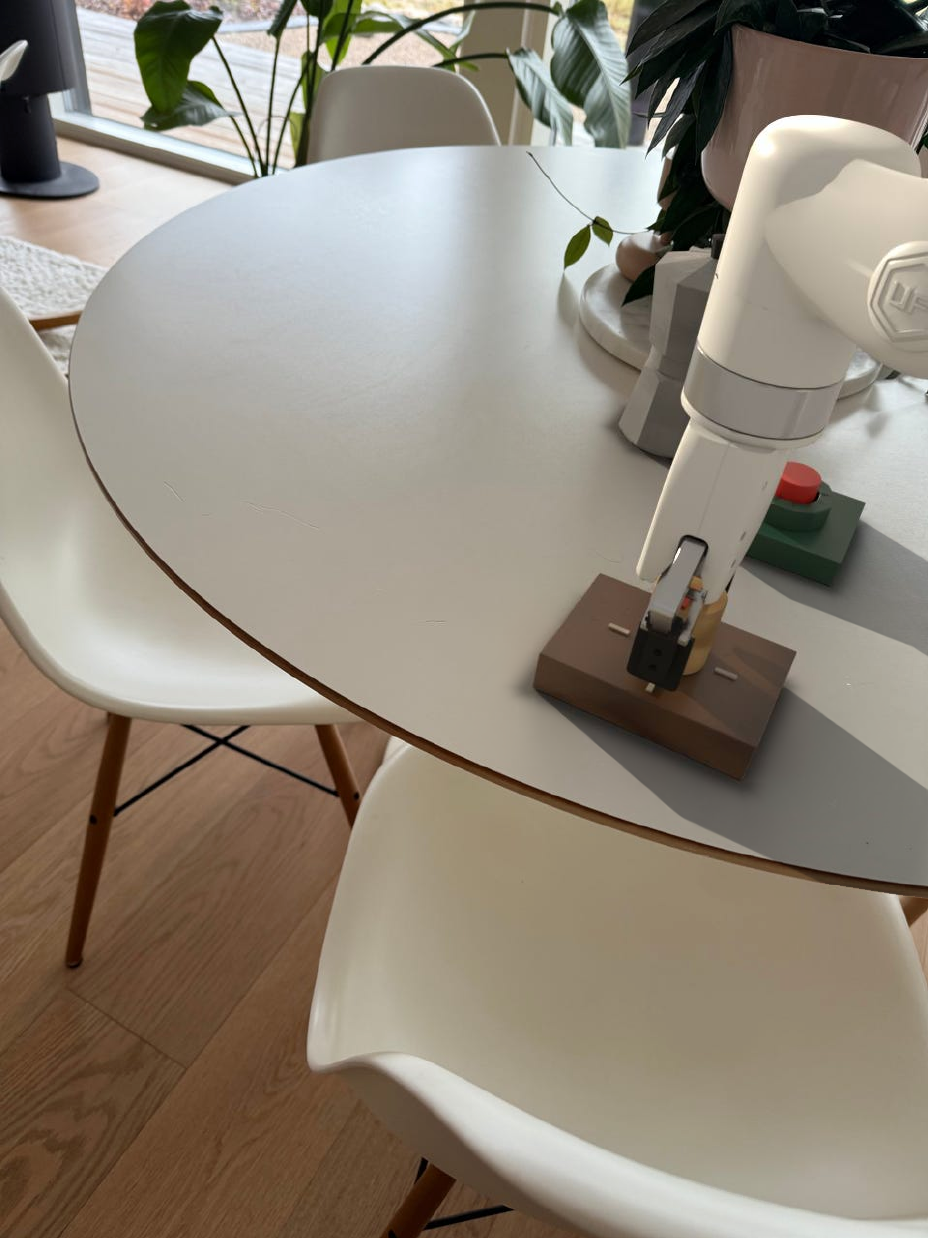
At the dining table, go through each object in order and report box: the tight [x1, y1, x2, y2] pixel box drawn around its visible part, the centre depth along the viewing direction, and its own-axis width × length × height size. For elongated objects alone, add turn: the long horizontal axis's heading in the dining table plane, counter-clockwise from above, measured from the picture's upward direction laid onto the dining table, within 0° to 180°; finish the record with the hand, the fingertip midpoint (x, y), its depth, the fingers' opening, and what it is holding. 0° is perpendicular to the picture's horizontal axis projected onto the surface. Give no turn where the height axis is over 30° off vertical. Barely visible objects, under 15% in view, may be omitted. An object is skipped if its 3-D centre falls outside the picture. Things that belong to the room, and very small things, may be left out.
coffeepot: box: [618, 233, 726, 460], centre depth 84 cm, size 15×9×18 cm, turn 178°
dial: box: [649, 575, 729, 675], centre depth 62 cm, size 4×4×5 cm
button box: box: [745, 479, 866, 587], centre depth 80 cm, size 11×10×4 cm
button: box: [775, 461, 822, 504], centre depth 78 cm, size 4×4×2 cm
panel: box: [531, 572, 797, 781], centre depth 64 cm, size 14×10×3 cm
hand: (676, 637), depth 63 cm, fingers open, 8 cm apart
